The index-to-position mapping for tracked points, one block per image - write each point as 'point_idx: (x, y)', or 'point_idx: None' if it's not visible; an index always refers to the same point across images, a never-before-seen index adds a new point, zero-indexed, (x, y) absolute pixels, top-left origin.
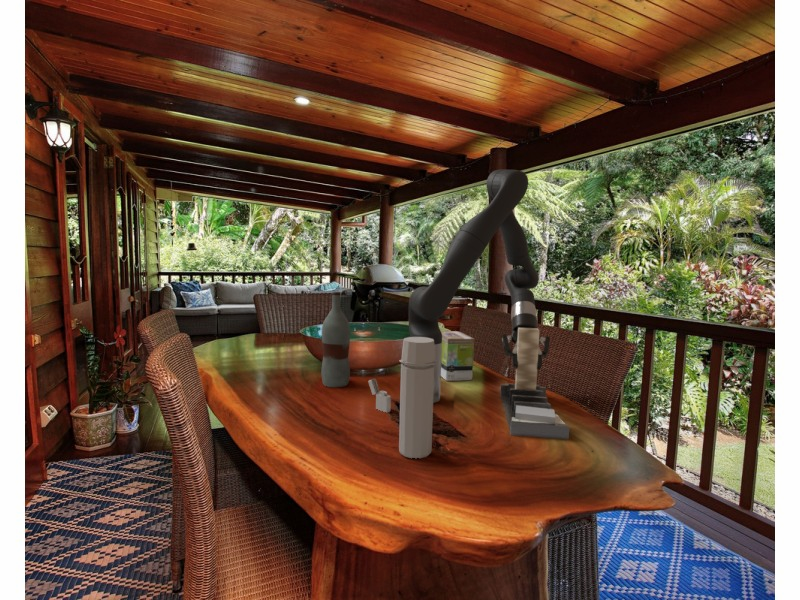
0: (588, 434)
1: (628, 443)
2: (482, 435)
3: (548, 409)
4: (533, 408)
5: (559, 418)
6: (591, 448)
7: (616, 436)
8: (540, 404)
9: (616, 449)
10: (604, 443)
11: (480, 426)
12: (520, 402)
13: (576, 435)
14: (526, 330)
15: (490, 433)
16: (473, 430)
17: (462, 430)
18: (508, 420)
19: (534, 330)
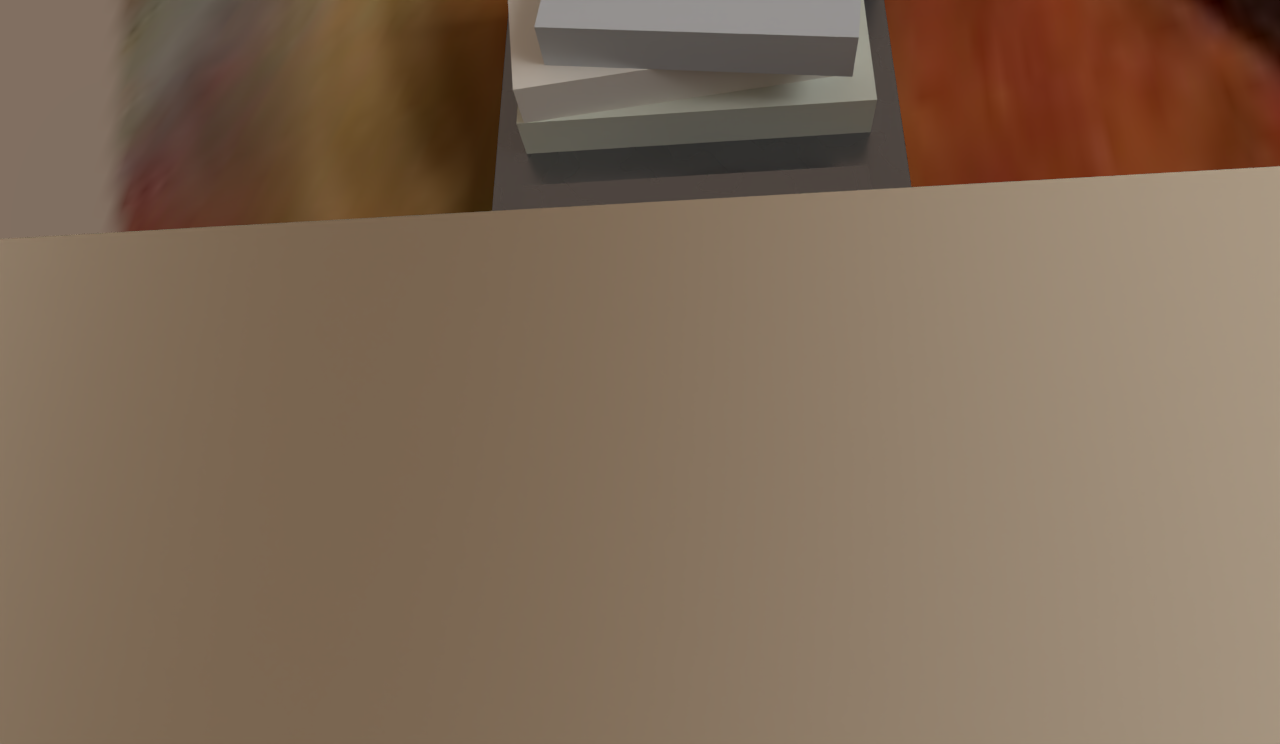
0: (324, 200)
1: (132, 129)
2: (1062, 19)
3: (583, 16)
4: (708, 7)
5: (516, 21)
6: (393, 17)
7: (146, 212)
8: (618, 181)
9: (252, 39)
10: (283, 95)
11: (1104, 150)
12: (810, 171)
13: (414, 165)
14: (761, 244)
15: (1011, 59)
16: (1142, 74)
17: (1223, 56)
18: (895, 173)
19: (128, 262)
